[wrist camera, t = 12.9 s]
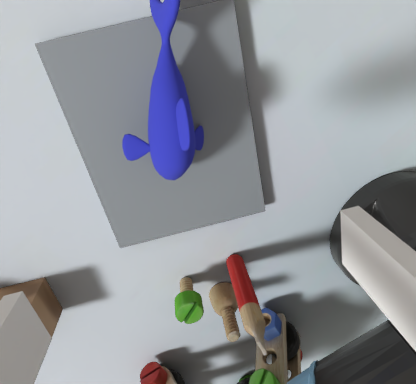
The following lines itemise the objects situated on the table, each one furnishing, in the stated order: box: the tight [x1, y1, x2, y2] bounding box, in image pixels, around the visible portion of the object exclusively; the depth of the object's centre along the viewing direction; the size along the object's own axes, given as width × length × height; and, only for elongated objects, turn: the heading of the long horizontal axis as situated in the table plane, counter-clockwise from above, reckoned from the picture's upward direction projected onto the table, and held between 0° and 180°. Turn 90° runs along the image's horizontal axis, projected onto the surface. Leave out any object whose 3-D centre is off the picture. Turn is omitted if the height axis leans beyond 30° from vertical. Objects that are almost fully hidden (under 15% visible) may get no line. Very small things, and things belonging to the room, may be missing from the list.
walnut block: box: [0, 277, 63, 337], centre depth 33 cm, size 5×5×5 cm
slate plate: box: [35, 0, 265, 248], centre depth 29 cm, size 16×20×1 cm
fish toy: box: [122, 0, 204, 180], centre depth 24 cm, size 15×8×7 cm, turn 0°
